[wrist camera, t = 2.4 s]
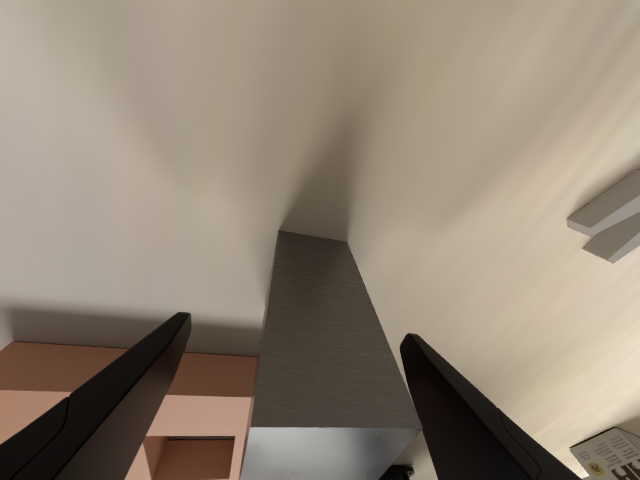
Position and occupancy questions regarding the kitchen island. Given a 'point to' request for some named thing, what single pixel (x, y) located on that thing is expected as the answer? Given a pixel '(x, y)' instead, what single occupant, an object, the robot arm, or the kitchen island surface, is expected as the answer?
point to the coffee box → (610, 456)
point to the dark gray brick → (323, 373)
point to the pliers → (612, 220)
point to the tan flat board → (171, 419)
